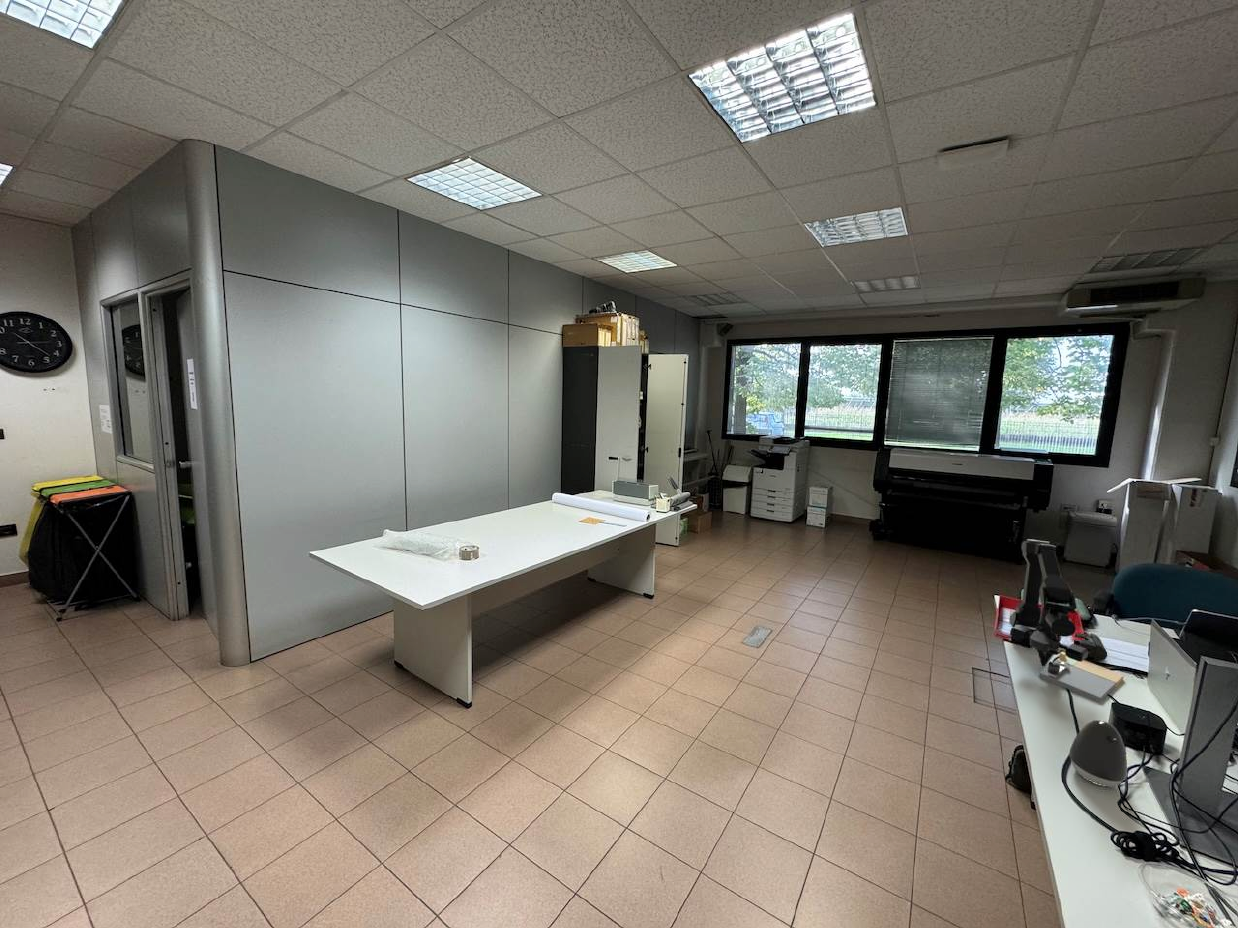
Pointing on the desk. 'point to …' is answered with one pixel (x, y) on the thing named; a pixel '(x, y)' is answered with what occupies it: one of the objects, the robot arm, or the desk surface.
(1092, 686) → the door board
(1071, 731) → the desk surface
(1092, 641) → the end cap
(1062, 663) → the door handle
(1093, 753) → the egg shaped dome
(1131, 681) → the desk surface
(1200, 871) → the desk surface
